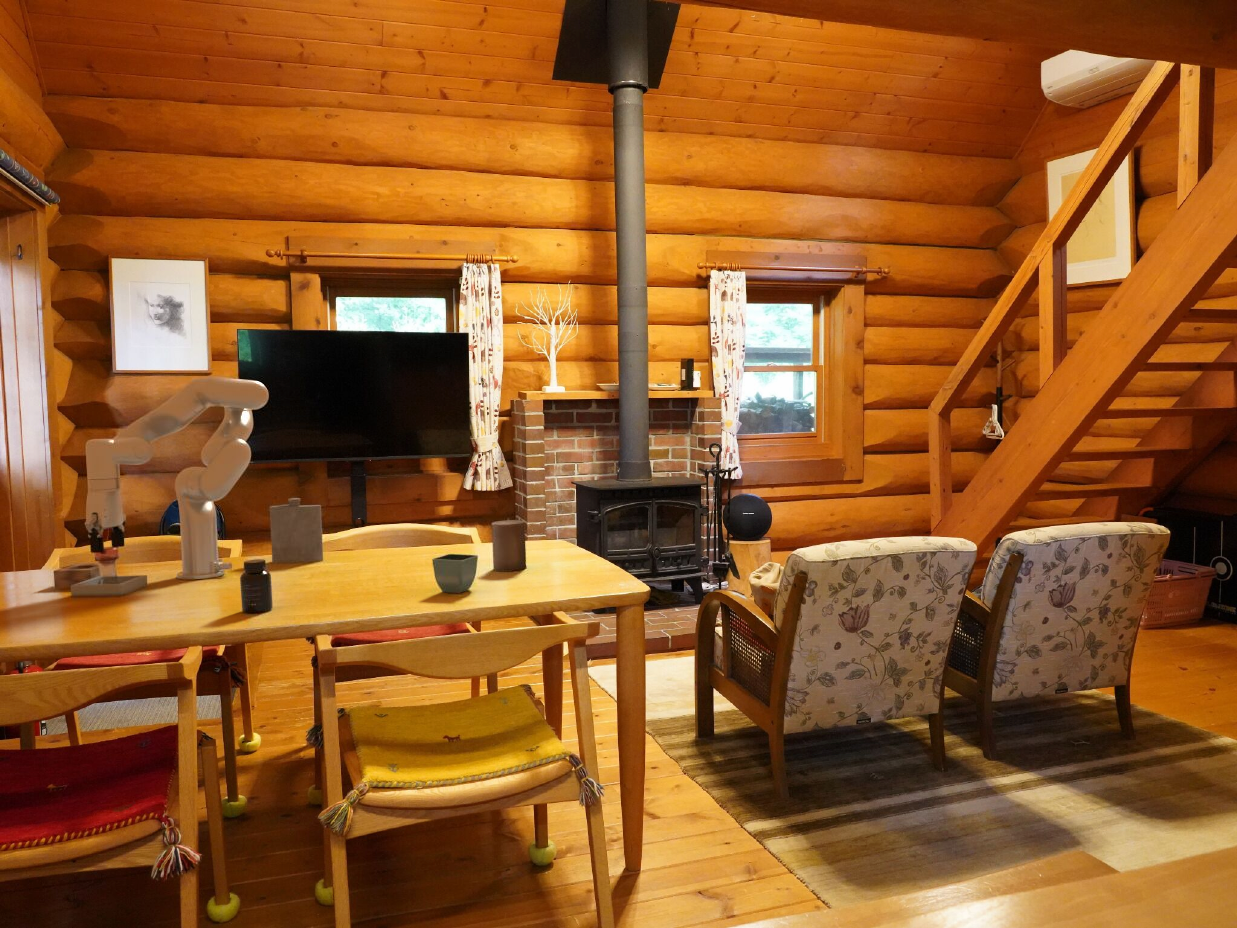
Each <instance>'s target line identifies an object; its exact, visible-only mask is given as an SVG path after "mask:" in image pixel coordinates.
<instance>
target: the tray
mask: <svg viewBox="0 0 1237 928" xmlns="http://www.w3.org/2000/svg"><path fill="white" fill-rule="evenodd" d="M117 579H118V584H101V583H100V576H98V577H95V578H92V579H89V580H86V581H83V582H80V583H77V584H74V585H71V589H70V597H71V598H86V597H87V598H88V597H89V598H92V597H123V596H125V595H128V594H131V593H132V592H136V591H138V590H140V589H143V588H147V587H148V575H147V574H146V575H145V574H144V575H143V574H139V575H138V574H137V575H136V574H135V575H133V574H131V575H117Z"/></svg>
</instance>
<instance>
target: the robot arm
mask: <svg viewBox="0 0 1237 928" xmlns="http://www.w3.org/2000/svg"><path fill="white" fill-rule="evenodd" d="M269 394H270V393H269V390H268V389H267V387H266V386H265V385H264V384H263V383H262V382H260V381H258V380H252V379H244V378H243V379H240V378H231V377H225V376H201V377H197V378H194V379H192V380H191V381H190V382H188V383H187V384H186V385H185V386H183V387H181V389H180V390H178V392H175V394H173V395H172V396H171V397H170V398H169V399H167V400H166V401H165V402H164V403H162V404H161V405H159V406H158V407H156V408H154V409H153V410H152V411H149V412H148V413H147V414H145V415H143V416H141V417H139V418H138V419H137V420H134V421H133V422H131V423H130V424H129V425H128V426H126V427H125V428H124V429H122V430H121V431H120V432H119V433H118V434H116V435H115V436H114V437H113V438H94V439H89V440H87V441H86V443H85V457H86V458H85V459H86V461H85V462H86V474H87V477H86V478H87V496H86V505H85V522H84V526H85V529H86V533H87V534H88V535H87V536H88V538H89V545H90V546H89V547H90V553H92V554H95V553H102V552H104V547H105V545H104V544H105V543H104V537H103V536H102V535H103V533H104V531H105V530H107V529H111V532H110V536H111V537H110V538H111V547H118V548H119V547H121V548H122V547H125V526H126V520H127V514H126V513H125V512H124V506H123V501H122V494H121V490H122V487H121V486H122V485H121V471H120V469H121V468H120V465H133V466H135V465H137V466H139V465H144V464H146V463H148V462H149V461H150V460H151V459H152V457H153V456H154V447H153V445H152V443H153V442H155V441H156V440H160V439H161V438H164V437H165V436H169V435H172V434H175V433H177V432H180V431H182V430H184V429H185V428H186V427H188V426H189V424H191V423H192V422H194V420H196V419H197V418H198V417H199V416H200V415H201V414H202V413H204V412H205V411H206V410H207V409H209V408H210V407H223V408H224V415H223V416H224V418H223V420H222V422H220V424H219V426H218V428H217V429H216V431H215V432H214V433H213V434H212V436H211V437H210V438H209V440H208V441H207V442H206V444H205V445H204V446H203V448H202V450H201V453H200V459H201V462H202V463H203V464H204V465H205V467H204V466H190V467H186V468H184V469H183V470H181V471H180V472H179V473H178V474H177V476H176V477H175V481H174V490H175V494H176V500H177V503H178V510H179V512H178V513H179V525H180V527H179V528H180V545H181V546H180V548H181V563H182V564H181V565H182V567H181V568H182V571H180V572H178V573H176V578H177V579H180V580H202V579H203V580H204V579H210V578H212V579H213V578H216V577H221V576H223V575H225V572H226V570H232V568H233V564H232V562H223V558H221V557H220V558H219V550H218V549H219V546H218V525H217V520H218V519H217V511H216V506H215V503H214V502H216V501H220V500H221V499H223V498H225V497H226V496H227V495H228V494H229V493H230V491H231V490H232V489H233V488H234V486H235V484H237V482H238V481H239V479H240V478H241V476H242V475H243V474H244V473H245V471H246V469H247V468H248V466H249V464H250V462H251V459H252V458H251V457H252V451H251V447H250V445H249V443H247V441H248V439H249V437H250V435H251V434H252V431H253V429H254V417H253V410H259V409H261V408H263V407H264V406H265V405H266V404H267V403H268V401H269Z"/></svg>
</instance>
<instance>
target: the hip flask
mask: <svg viewBox="0 0 1237 928" xmlns="http://www.w3.org/2000/svg"><path fill="white" fill-rule="evenodd" d="M287 501H288V502H289V503H288V504H281V505H280V504H278V505H271V506H269V519H270V521H269V522H270V539H271V540H270V541H271V559H272V560H271V562H272V563H277V564H279V563H284V564H286V563H292V564H293V563H294V564H295V563H318V562H319V563H320V562H323V561H324V545H323V525H322V523H323V522H322V505H321V504H314V505H313V504H310V505H309V504H307V505H304V504H303V505H300V504H301V503H300V502H301V498H300V497H299V498H298V497H292V498H288V499H287Z"/></svg>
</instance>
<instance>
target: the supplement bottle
mask: <svg viewBox="0 0 1237 928" xmlns="http://www.w3.org/2000/svg"><path fill="white" fill-rule="evenodd" d="M266 563H267V562H266V559H263V558H262V559H261V558H259V559H257V558H256V559H249V560H245V561H243V570H244V572H242V573H241V575H240V576H239V577H240V578H239V581H240V582H239V583H240V585H239V586H240V601H241V611H242V612H243V613H244V614H249V615H253V614H262V613H266V612H270V611H271V610H272V609H273V589H272V587H273V586H272V575H271V573H270V571H268V570H266V568H267V564H266Z"/></svg>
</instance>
